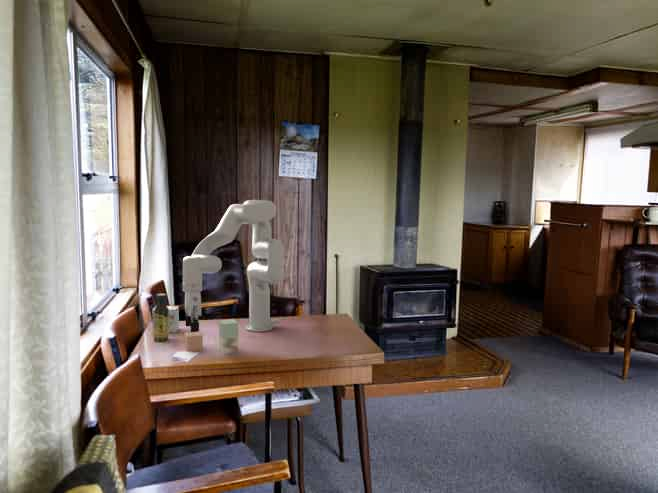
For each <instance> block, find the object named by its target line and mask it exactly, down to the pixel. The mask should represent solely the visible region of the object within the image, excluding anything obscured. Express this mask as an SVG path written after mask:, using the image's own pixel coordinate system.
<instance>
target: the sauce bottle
mask: <svg viewBox="0 0 658 493" xmlns="http://www.w3.org/2000/svg"><path fill="white" fill-rule="evenodd" d="M155 298H156V305H155V306H156V308H155V311H154V321H153V332H152V334H153V340H154V341H156V342H165V341H167V340H169V336H170V335H169V333H170V332H169V309H168V307H167V306H168V305H167V294H166V293H157V294H156V297H155Z"/></svg>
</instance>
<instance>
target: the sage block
mask: <svg viewBox="0 0 658 493" xmlns="http://www.w3.org/2000/svg"><path fill="white" fill-rule="evenodd" d="M218 329H219V330H218V332H219V334H218V336H219V335H220V336H221V337H222V339H230V338H238V339H239V322H238V321H237V320H235V319H234V318H231V319H223V320H219V321H218Z"/></svg>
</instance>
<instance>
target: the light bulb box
mask: <svg viewBox="0 0 658 493" xmlns="http://www.w3.org/2000/svg"><path fill="white" fill-rule="evenodd" d="M166 306H167V307H168V309H169V333H176V332H178V330H179V329H180V323H179V322H180V316H179V310H180V309H179V308H180V306H179V305H166ZM155 308H156V305H155V306H154V307H153V308H152V309H151V328H152V330H151V333H153V321H154V311H155Z"/></svg>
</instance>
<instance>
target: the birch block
mask: <svg viewBox="0 0 658 493" xmlns="http://www.w3.org/2000/svg"><path fill="white" fill-rule="evenodd" d="M218 336H219V337H218V338H219V340H218V341H219V342H218V343H219V344H218V345H219V347H218V349H219V351H220V352H221V353H222V354H223V355H226V354H235V353H239V337H238V338H230V339H222V337H221V336H220V335H219V334H218Z"/></svg>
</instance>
